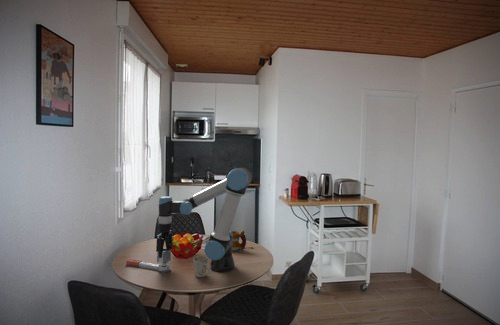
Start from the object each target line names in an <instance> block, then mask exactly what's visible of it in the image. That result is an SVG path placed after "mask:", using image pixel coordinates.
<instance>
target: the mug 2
mask: <svg viewBox="0 0 500 325" xmlns="http://www.w3.org/2000/svg"><path fill="white" fill-rule="evenodd" d="M230 231H231V232H232V234H233V240H232V253H236V252H238V251H240V250H241V251H243V250H244V249H245V248H246V245H247V238H246V235H245V231H244V230H242V231H241V232H240V233H239V231H235V230H230ZM240 239H241V243H240Z"/></svg>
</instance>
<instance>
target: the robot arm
mask: <svg viewBox="0 0 500 325" xmlns="http://www.w3.org/2000/svg"><path fill="white" fill-rule="evenodd" d="M252 180H253V175H252V172H251V170H250V169H248V168H246V167H236V168H233V169H232V170H230V171H229V173H228V174H227V176H226V178H224V179H222V180H220V181H219V182H217V183H215V184H212V185H211V186H209V187H207V188H205V189H202V190H201V191H199V192H197V193H195V194H193V195H191V196H189V197H187V198H185V199H182V200H173V198H172V196H169V195H168V196H160V197H159V199H158V228H157V229H158V230H159V234H156V236H155V237H156V248H155V252H159V262H158V263H159V264H162V263H163V259H164V252H163V248H167V249H171V250H172V248H173V232H174V231H173V230H171V229H172V218H173V217H172V215H173V214H174V215H175V214H177V215H190V214H191V213H192V211H193V210H194V209H195V208H197V207H199V206H202V205H203V204H206V203H208V202H210V201H212V200H213V199H216V198H217V197H219V196H222V195H224V194H225V193H226V194H225V196H224V200H223V203H222V205H221V210H220V212H219V216H218V218H217V221H216V225H215V228H214V230H213V231H211V232H210V233H209V234H210V235H209V238H208V241H207V242H206V244H205V245H204V250H203V251H204V254H205V257H207V258H208V260H211V261H210V266H209V268H210V270H211V271H214V272H217V273H218V272H219V273H221V272H230V271H233V270H234V269H235V266H236V263H235V260H234V257H233V252H232V240H233V234H232V232H231V231H232V226H233V222H234V220H235V216H236V214H237V210H238V207H239V204H240V200H241V198H242V197H243V196H244V195H245V194H246V191H247V190H248V189H247V188H248V186H249V185H250V184H251V182H252ZM164 246H165V247H164Z"/></svg>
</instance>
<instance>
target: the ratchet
mask: <svg viewBox="0 0 500 325" xmlns="http://www.w3.org/2000/svg"><path fill="white" fill-rule="evenodd" d="M125 266H129V267H134V268H141V269H146V270H147V269H148V270H153V271H158V273H163V274H164V273H169V272H171V264H170V263H168V262H167V263H166V264H164V263H159V264H157V263H152V262H145V261H142V260H139V259H134V258H133V259H132V258H129V259H127V260H126V261H125Z"/></svg>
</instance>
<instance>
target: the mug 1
mask: <svg viewBox="0 0 500 325" xmlns="http://www.w3.org/2000/svg"><path fill="white" fill-rule="evenodd" d="M208 260H209V258H208V257H207V256H206V255H205V256H204V255H197V256H194V257H193V258H192V262H193V271H194V272H193V273H194V276H195V277H196V278H203V277H205V276H209V274H210V272H211V268H210V266H209V264H208Z"/></svg>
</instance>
